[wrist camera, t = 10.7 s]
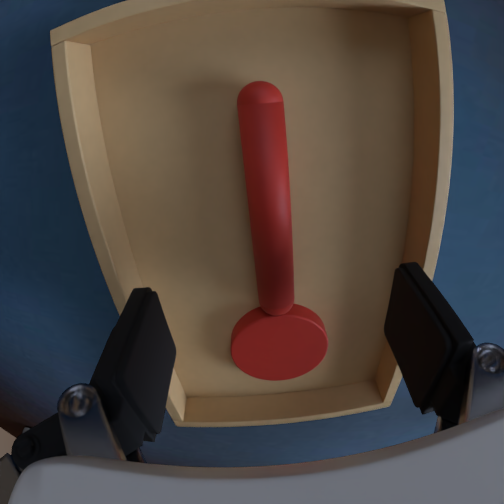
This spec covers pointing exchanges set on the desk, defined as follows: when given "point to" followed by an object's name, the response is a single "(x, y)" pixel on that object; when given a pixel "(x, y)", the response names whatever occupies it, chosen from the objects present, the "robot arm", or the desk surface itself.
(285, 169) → the red spoon
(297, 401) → the oak tray
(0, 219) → the desk surface
